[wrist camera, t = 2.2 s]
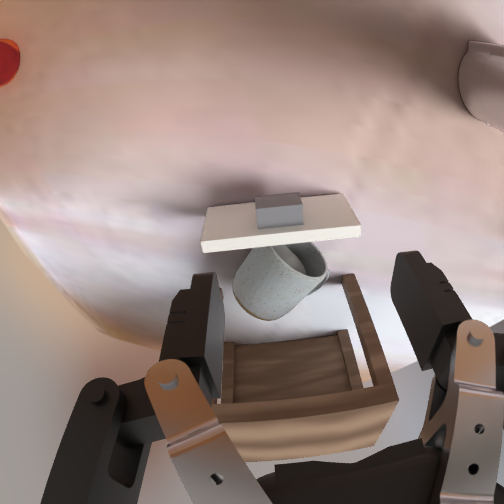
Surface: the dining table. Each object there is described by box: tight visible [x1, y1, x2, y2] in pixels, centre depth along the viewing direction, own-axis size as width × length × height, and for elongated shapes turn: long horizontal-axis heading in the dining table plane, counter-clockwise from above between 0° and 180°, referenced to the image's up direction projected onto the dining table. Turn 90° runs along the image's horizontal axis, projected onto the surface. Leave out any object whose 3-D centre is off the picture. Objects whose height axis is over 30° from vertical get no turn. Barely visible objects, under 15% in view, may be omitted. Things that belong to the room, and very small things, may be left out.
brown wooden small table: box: [211, 274, 399, 462], centre depth 36 cm, size 12×18×18 cm, turn 96°
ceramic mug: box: [232, 242, 329, 321], centre depth 35 cm, size 11×8×8 cm
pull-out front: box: [201, 192, 361, 253], centre depth 30 cm, size 3×14×6 cm, turn 97°
